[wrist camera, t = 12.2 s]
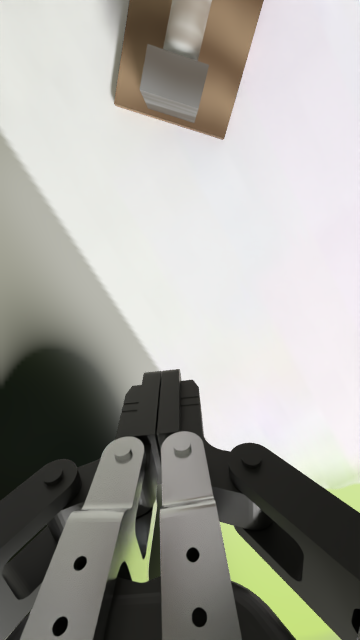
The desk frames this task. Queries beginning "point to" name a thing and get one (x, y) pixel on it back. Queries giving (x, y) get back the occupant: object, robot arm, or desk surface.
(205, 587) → the robot arm
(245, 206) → the desk surface
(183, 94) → the pipe stand
